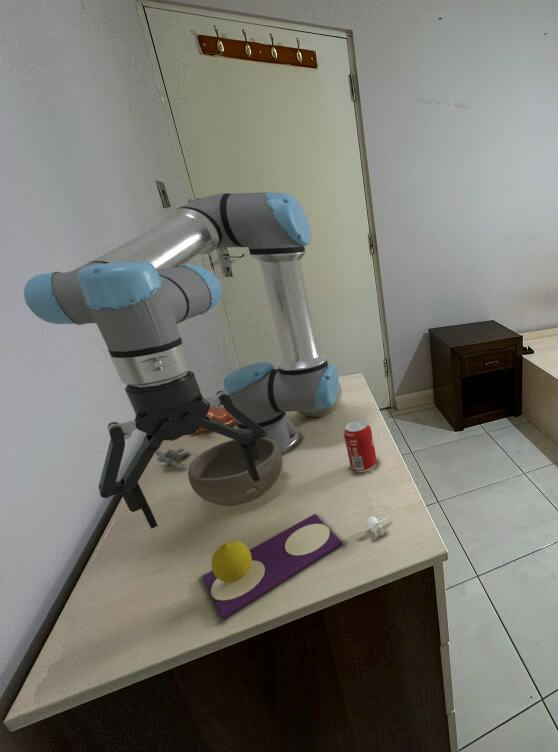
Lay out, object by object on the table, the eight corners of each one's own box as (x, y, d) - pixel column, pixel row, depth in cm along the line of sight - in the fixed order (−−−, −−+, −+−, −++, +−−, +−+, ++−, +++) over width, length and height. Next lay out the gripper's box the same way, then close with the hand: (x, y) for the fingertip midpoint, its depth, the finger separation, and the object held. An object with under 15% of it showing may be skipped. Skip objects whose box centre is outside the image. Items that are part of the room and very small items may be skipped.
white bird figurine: (387, 512, 84) (387, 499, 82) (397, 529, 82) (398, 516, 79) (350, 531, 80) (349, 518, 77) (360, 550, 77) (359, 538, 74)
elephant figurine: (207, 454, 108) (183, 462, 99) (193, 471, 108) (167, 481, 99) (176, 431, 107) (149, 438, 98) (161, 449, 107) (133, 457, 98)
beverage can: (382, 461, 103) (375, 421, 98) (366, 476, 97) (358, 434, 93) (362, 457, 104) (354, 417, 100) (345, 471, 99) (336, 430, 94)
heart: (185, 406, 121) (184, 426, 110) (233, 397, 128) (236, 416, 117) (190, 423, 123) (189, 445, 112) (236, 414, 130) (240, 434, 119)
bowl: (278, 507, 88) (267, 469, 84) (185, 525, 83) (168, 487, 79) (294, 463, 103) (285, 429, 99) (216, 476, 98) (203, 442, 95)
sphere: (288, 412, 129) (305, 428, 119) (277, 372, 123) (294, 385, 114) (333, 397, 139) (353, 411, 129) (325, 359, 133) (345, 370, 123)
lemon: (231, 566, 72) (217, 533, 69) (262, 564, 73) (250, 530, 70) (212, 594, 67) (197, 559, 64) (246, 591, 68) (233, 556, 64)
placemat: (203, 578, 71) (202, 575, 71) (315, 516, 85) (314, 513, 85) (223, 619, 64) (222, 617, 63) (342, 544, 77) (341, 541, 77)
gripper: (23, 420, 44) (103, 561, 52) (266, 357, 61) (297, 470, 69) (24, 401, 49) (97, 533, 57) (250, 347, 66) (281, 454, 74)
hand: (207, 499), depth 63 cm, fingers open, 13 cm apart
